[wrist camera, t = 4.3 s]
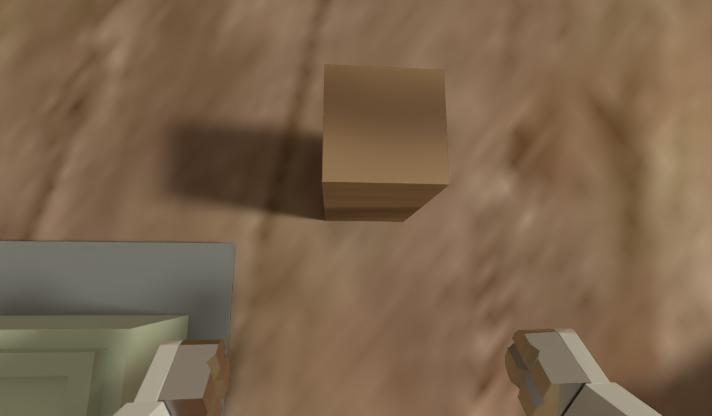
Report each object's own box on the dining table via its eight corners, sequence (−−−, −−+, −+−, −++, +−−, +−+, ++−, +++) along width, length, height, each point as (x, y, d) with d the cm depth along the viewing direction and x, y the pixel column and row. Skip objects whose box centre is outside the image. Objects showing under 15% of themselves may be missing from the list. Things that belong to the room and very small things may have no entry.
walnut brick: (403, 221, 23) (449, 184, 14) (324, 220, 23) (322, 181, 14) (401, 147, 24) (443, 69, 15) (326, 145, 24) (324, 64, 15)
